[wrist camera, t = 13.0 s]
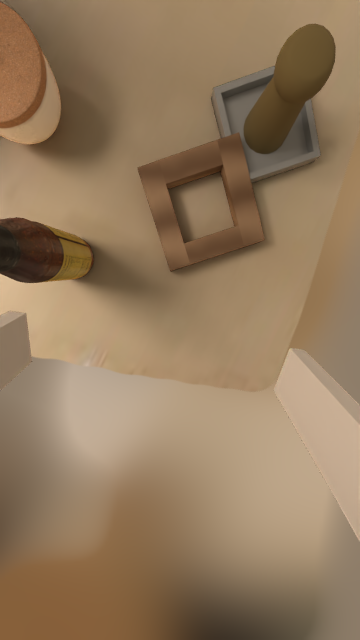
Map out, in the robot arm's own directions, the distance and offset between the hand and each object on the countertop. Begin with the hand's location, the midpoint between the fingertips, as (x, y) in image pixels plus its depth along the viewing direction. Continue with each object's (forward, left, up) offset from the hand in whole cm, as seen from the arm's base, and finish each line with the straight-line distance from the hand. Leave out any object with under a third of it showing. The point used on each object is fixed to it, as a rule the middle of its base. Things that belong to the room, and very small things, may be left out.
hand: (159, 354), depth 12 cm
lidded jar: (-29, -10, -24) cm, 40 cm away
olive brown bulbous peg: (-18, +19, -24) cm, 36 cm away
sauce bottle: (-10, -12, -24) cm, 29 cm away
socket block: (-11, +8, -24) cm, 28 cm away
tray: (-18, +19, -24) cm, 36 cm away
